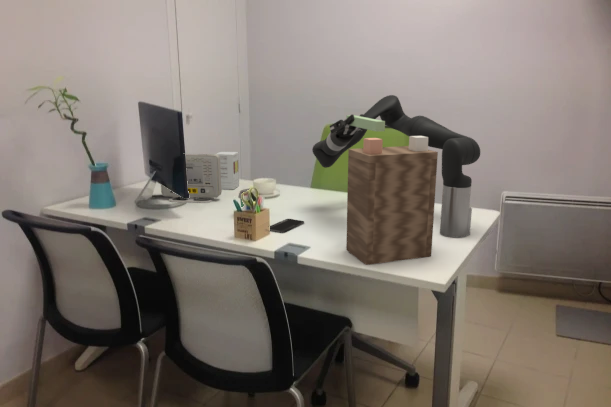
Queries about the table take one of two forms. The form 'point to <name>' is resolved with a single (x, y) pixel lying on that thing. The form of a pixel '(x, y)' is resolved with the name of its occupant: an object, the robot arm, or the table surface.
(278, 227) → the phone
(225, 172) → the supplement box
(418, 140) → the grey block
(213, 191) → the network device
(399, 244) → the walnut stand
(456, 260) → the table surface
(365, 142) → the terracotta block
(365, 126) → the sage green bar
